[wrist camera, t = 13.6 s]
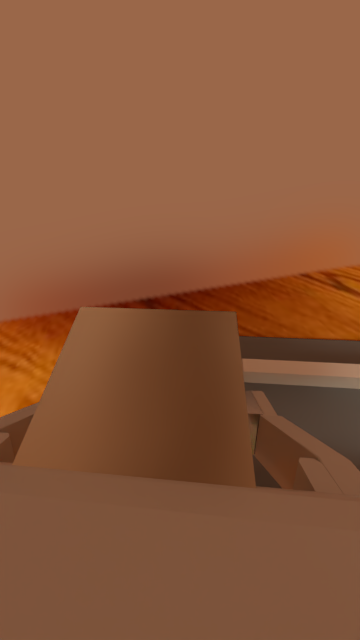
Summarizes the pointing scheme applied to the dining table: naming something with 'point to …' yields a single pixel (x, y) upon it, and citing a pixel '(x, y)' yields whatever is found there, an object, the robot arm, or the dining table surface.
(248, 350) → the shelf lane
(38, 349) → the dining table surface
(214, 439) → the beech block
